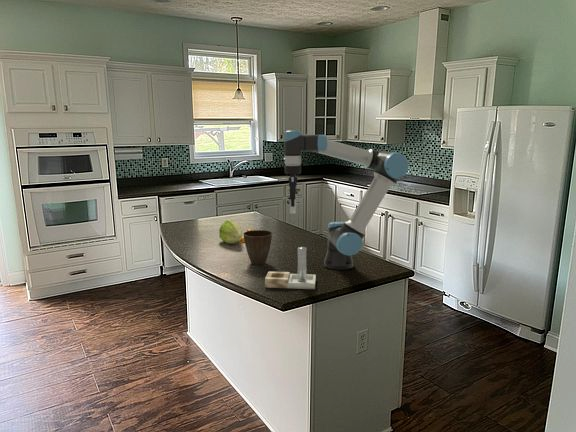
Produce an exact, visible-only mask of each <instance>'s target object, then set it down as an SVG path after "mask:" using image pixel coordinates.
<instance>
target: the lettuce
mask: <svg viewBox="0 0 576 432" xmlns="http://www.w3.org/2000/svg"><path fill="white" fill-rule="evenodd" d="M218 231H219V232H218V233H219V234H218V235H219V239H220V240H222V241H223V242H224V243H227V244H228V245H231V244H237V242H239V241H240V240H241V238H242V237H243V230H242V229H241V228H240V226H239V225H238V224H237V223H236V222H234V221H233V220H225V221H224V222H223V223H222V224H221V225H220V227H219V229H218Z"/></svg>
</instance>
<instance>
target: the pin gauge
mask: <svg viewBox="0 0 576 432" xmlns="http://www.w3.org/2000/svg"><path fill="white" fill-rule="evenodd" d="M307 249H308V247H306V246H298V247H297V274H298V282H302V283H306V274H307V267H308V266H307V259H308V258H307V254H308V253H307V251H308V250H307Z"/></svg>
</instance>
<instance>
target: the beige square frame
mask: <svg viewBox="0 0 576 432" xmlns="http://www.w3.org/2000/svg"><path fill="white" fill-rule="evenodd" d="M290 274H291V272H290V271H268V272H267V274H266V276H265V277H264V288H271V289H272V288H275V289H289V288H288V279H289V276H290Z"/></svg>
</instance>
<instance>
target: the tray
mask: <svg viewBox="0 0 576 432" xmlns="http://www.w3.org/2000/svg"><path fill="white" fill-rule="evenodd" d="M316 275H317V274H311V273H310V274H309V273H306V283H302V282H298V273H290V276H289V279H288V288H287V289H303V290H315V289H316V280H317V276H316Z"/></svg>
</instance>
